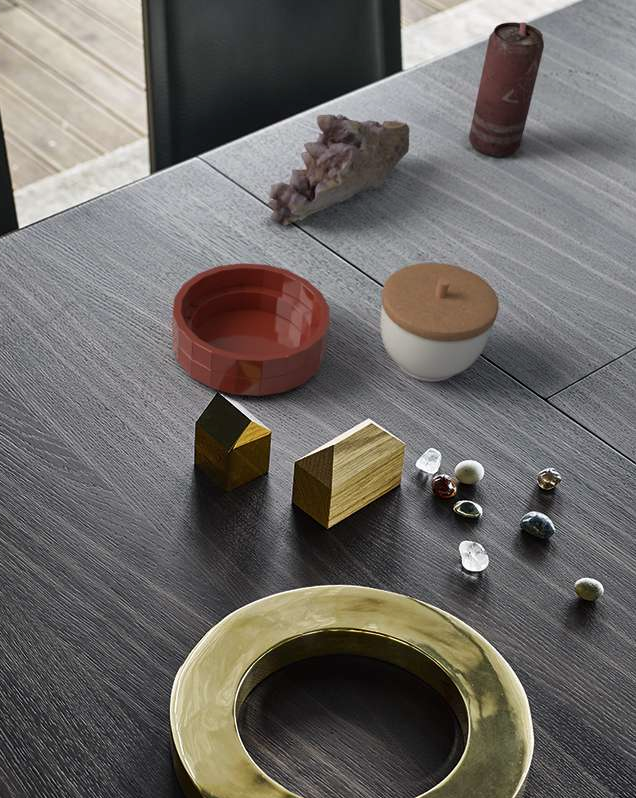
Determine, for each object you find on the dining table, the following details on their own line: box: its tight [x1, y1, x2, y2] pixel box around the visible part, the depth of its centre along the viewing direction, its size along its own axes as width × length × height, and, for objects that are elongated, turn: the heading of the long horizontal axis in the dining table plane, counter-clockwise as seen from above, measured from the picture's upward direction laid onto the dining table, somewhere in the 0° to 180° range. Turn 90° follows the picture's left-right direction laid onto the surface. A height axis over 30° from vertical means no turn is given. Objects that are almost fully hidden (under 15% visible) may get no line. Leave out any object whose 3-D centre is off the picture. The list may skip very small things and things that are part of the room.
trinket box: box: [379, 262, 500, 383], centre depth 117 cm, size 11×11×9 cm
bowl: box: [171, 262, 331, 397], centre depth 119 cm, size 15×15×5 cm
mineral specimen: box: [267, 114, 411, 226], centre depth 138 cm, size 20×10×10 cm
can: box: [468, 21, 545, 158], centre depth 144 cm, size 6×6×14 cm
